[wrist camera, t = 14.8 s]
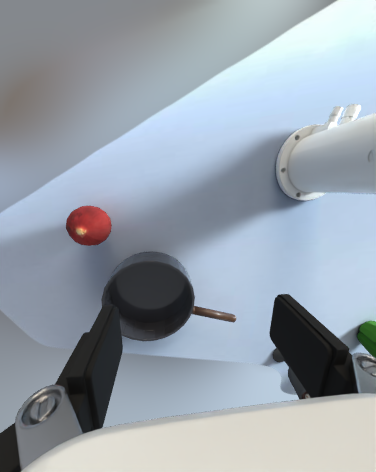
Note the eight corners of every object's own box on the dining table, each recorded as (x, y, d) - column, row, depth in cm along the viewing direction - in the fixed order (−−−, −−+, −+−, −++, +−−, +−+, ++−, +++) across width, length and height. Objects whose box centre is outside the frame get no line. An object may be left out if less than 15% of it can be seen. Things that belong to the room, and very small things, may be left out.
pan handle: (187, 310, 34) (189, 315, 33) (190, 303, 34) (191, 308, 32) (232, 319, 36) (235, 324, 35) (235, 313, 36) (238, 318, 34)
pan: (120, 241, 32) (114, 250, 28) (201, 263, 36) (206, 273, 31) (100, 315, 35) (92, 333, 31) (176, 329, 38) (178, 346, 34)
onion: (77, 234, 31) (50, 250, 23) (81, 200, 30) (53, 204, 22) (113, 240, 32) (99, 257, 24) (118, 208, 31) (104, 215, 23)
